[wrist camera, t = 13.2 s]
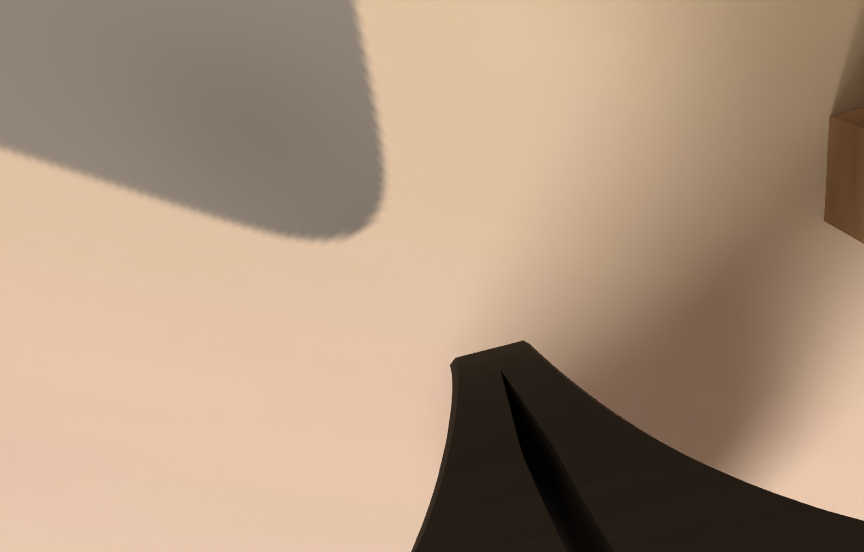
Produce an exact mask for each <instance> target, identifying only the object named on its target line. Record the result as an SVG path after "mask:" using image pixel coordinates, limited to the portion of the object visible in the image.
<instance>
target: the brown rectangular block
mask: <svg viewBox="0 0 864 552" xmlns="http://www.w3.org/2000/svg"><path fill="white" fill-rule="evenodd" d="M824 221H825V222H827V223H829V224H831V225H832V226H834V227H836V228H838V229H839V230H841V231H843V232H845V233H846V234H848V235H850V236H851V237H853V238H855V239H857V240H858V241H860V242H862V243H864V108H860V109H856V110H852V111H848V112H844V113H840V114H836V115H832V116H830V120H829V139H828V158H827V177H826V196H825V215H824Z"/></svg>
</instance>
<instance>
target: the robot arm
mask: <svg viewBox="0 0 864 552" xmlns="http://www.w3.org/2000/svg"><path fill="white" fill-rule="evenodd" d="M450 367H451V371H452V405H451V413H450V420H449V427H448V434H447V440H446V445H445V449H444V453H443V458H442V462H441V466H440V470H439V475H438V478H437V482H436V485H435V489H434V492H433V495H432V499H431V502H430V505H429V507H428V510H427V513H426V516H425V519H424V522H423V524H422V527H421V529H420V532H419V534H418V537H417V539H416V542H415V544H414V546H413V549H412V551H411V552H864V521H862V520H859V519H855V518H851V517H848V516H844V515H840V514H837V513H833V512H829V511H826V510H823V509H819V508H816V507H813V506H810V505H807V504H804V503H801V502H799V501H796V500H793V499H790V498H787V497H784V496H781V495H778V494H775V493H772V492H770V491H767V490H765V489H762V488H759V487H757V486H754V485H751V484H749V483H746V482H744V481H742V480H739V479H737V478H735V477H732V476H730V475H728V474H725V473H723V472H721V471H718V470H716V469H714V468H712V467H709V466H707V465H705V464H703V463H701V462H698V461H696V460H694V459H692V458H690V457H688V456H686V455H684V454H682V453H680V452H678V451H677V450H675V449H673V448H671V447H669V446H667V445H665V444H664V443H662V442H660V441H658V440H657V439H655V438H653V437H652V436H650V435H648V434H647V433H645V432H643V431H642V430H640V429H638V428H637V427H635V426H634V425H632V424H631V423H629V422H628V421H626V420H625V419H623V418H622V417H620V416H618V415H617V414H615V413H614V412H613V411H611V410H610V409H608V408H607V407H605V406H604V405H603V404H601V403H600V402H599V401H597V400H596V399H595V398H593V397H592V396H591V395H589V394H588V393H587V392H585V391H584V390H583V389H581V388H580V387H579V386H577V385H576V384H575V383H574V382H572V381H571V380H570V379H569V378H567V377H566V376H565V375H564V374H563V373H561V372H560V371H559V370H558V369H557V368H555V367H554V366H553V365H552V364H551V363H550V362H549V361H547V360H546V359H545V358H544V357H543V356H542V355H541V354H540V353H539V352H538V351H537V350H535V349H534V348H533V347H532V346H531V345H530V344H529V343H527V342H525V341H520V342H516V343H512V344H508V345H504V346H500V347H496V348H492V349H488V350H484V351H481V352H477V353H473V354H469V355H465V356H461V357H457V358H455V359H454V360H453V362H452V363H451V364H450Z"/></svg>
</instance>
